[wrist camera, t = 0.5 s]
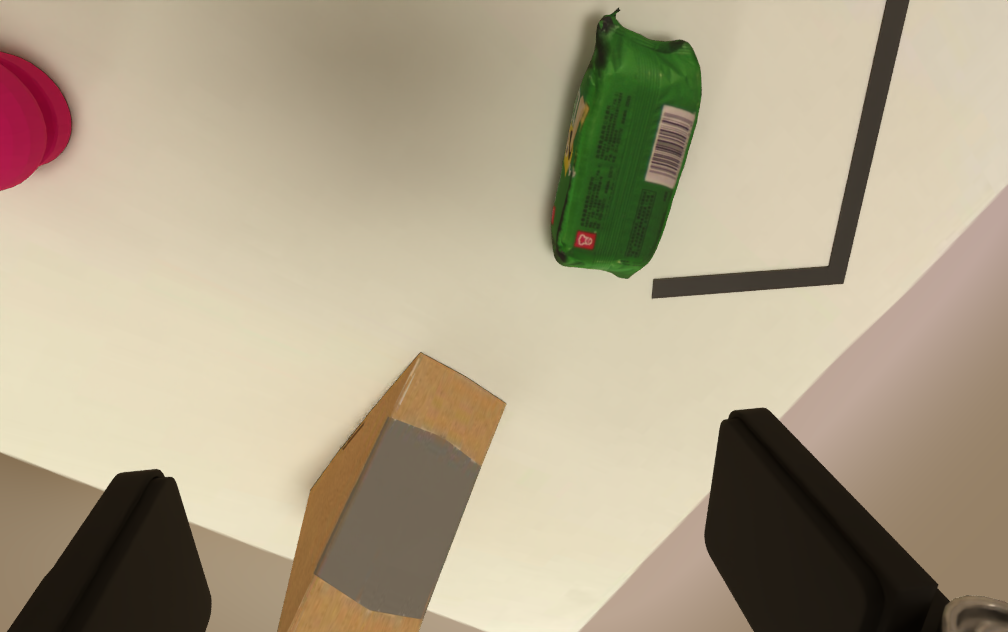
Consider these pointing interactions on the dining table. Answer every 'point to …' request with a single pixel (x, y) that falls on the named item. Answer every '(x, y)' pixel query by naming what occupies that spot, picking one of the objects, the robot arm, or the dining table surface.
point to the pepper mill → (29, 120)
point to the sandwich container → (391, 506)
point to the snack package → (625, 150)
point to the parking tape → (852, 196)
